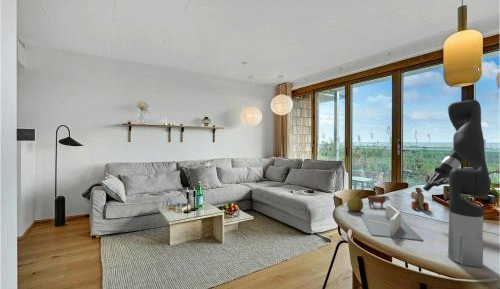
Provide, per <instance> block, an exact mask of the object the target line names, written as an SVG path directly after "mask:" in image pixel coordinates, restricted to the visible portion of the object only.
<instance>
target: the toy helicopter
mask: <svg viewBox="0 0 500 289" xmlns="http://www.w3.org/2000/svg"><path fill="white" fill-rule="evenodd" d="M414 189H415V191H412V192H411V194H410V198H411V199H412V200H413V201H411V205H410V206H411V208H412V210H417V209H422V208H423V210H424V211H429V209H430V206H429V203H428V202H426V201H425V196H424V193H423V192H424V191H423V190H422V188H420V187H414Z"/></svg>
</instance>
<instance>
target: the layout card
mask: <svg viewBox="0 0 500 289" xmlns="http://www.w3.org/2000/svg"><path fill="white" fill-rule="evenodd" d="M359 215H360V217H361V218H362V220H363V222H364V225H365V226H366V229H367V230H368V232H369V233H370V236H372V237H374V236H375V237H382V238H383V237H384V238H393V239H403V240H412V241H422V242H424V241H425V240H424V239H423V238H422V237H421V236H420V235H419V234H418V233H417V232H416V231H415V230H414V229H413V228H412V227H411V226H410V225H409V224H408V223H407V222H406V221H405V220H404V219H402V218H401V227H399V228H398V230H397V231H396V232H395V236H391V235H390V219H389V218H387V217H386V215H378V214H367V213H360V214H359Z"/></svg>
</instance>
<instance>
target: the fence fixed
mask: <svg viewBox="0 0 500 289" xmlns="http://www.w3.org/2000/svg"><path fill="white" fill-rule="evenodd" d="M401 219H402V212H401V211H399V212H396V214H395V215H394V216H393V217H392V218H391V219H390V235H391V236H395V232H396V231H397V230H398V228H399V227H401Z"/></svg>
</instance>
